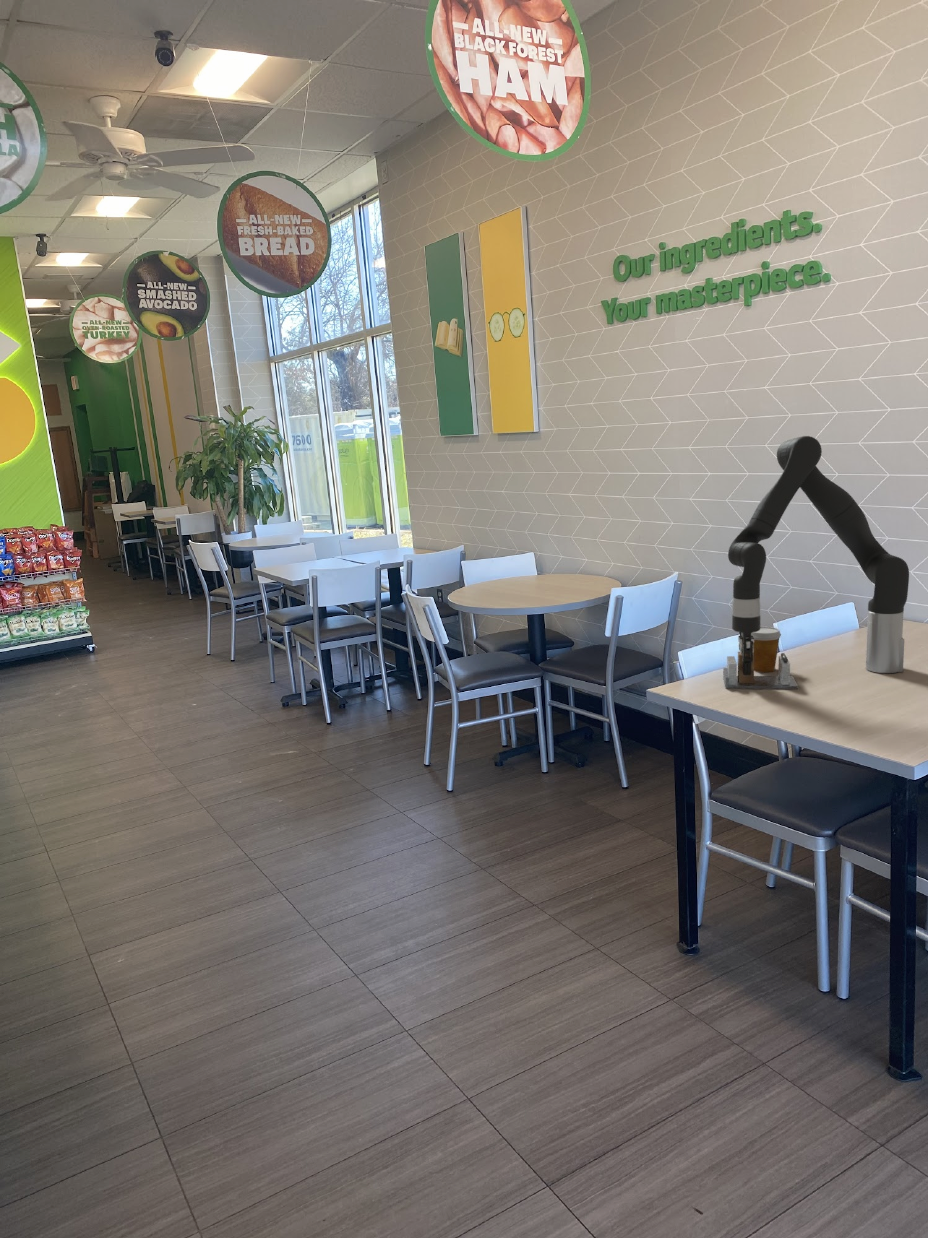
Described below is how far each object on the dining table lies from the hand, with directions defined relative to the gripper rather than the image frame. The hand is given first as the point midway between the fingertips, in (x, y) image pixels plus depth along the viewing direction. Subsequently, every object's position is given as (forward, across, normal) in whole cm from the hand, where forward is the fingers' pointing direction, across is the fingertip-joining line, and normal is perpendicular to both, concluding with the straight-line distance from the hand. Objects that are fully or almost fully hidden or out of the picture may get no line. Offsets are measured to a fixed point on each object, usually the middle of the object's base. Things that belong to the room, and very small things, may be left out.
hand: (745, 671), depth 253 cm
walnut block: (+3, 0, 0) cm, 3 cm away
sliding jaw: (+4, 0, -10) cm, 11 cm away
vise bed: (+4, 0, -4) cm, 5 cm away
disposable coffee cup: (+4, +15, -6) cm, 17 cm away
